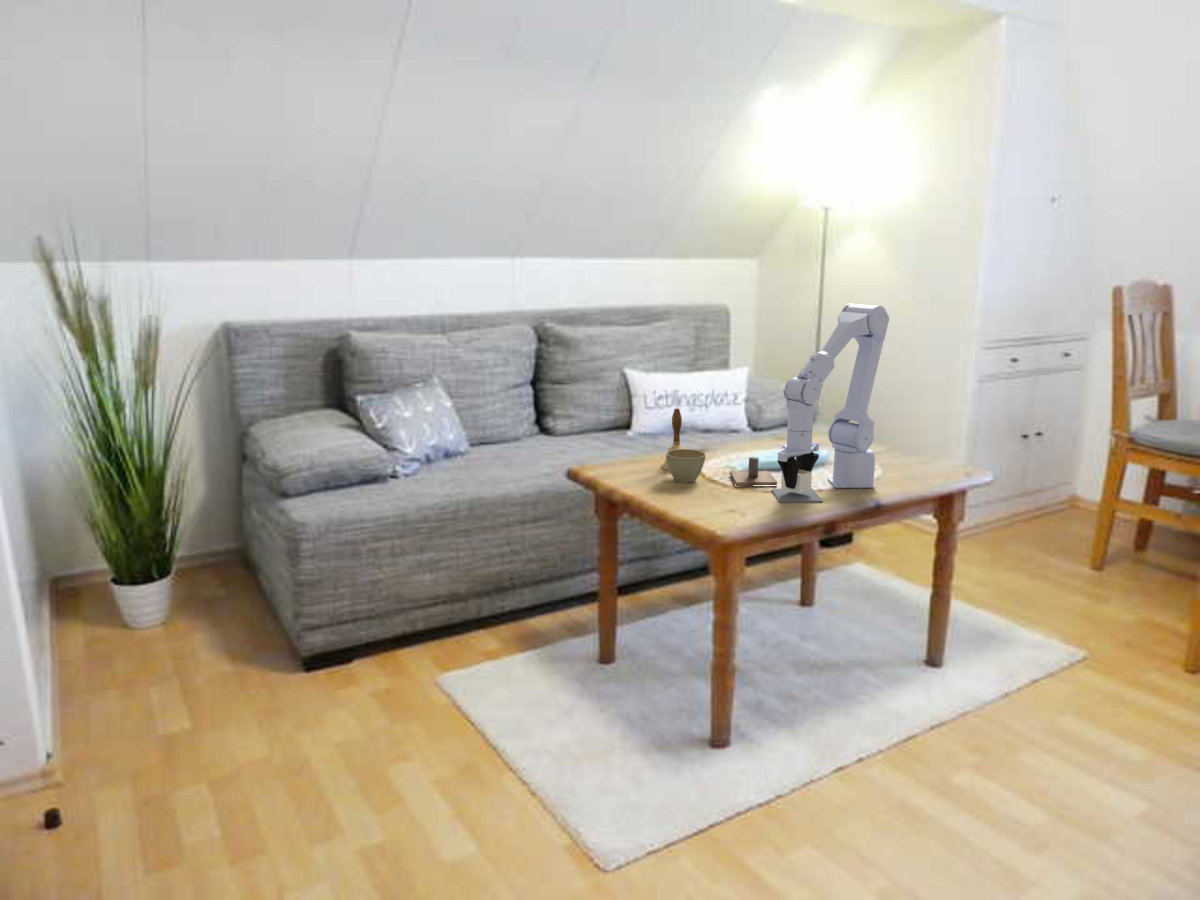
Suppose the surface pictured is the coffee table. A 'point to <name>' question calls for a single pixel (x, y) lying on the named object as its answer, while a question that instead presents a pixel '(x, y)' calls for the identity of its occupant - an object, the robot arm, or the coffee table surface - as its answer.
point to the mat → (796, 496)
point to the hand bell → (675, 435)
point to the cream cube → (799, 482)
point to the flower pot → (685, 464)
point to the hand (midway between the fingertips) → (796, 485)
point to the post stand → (752, 475)
